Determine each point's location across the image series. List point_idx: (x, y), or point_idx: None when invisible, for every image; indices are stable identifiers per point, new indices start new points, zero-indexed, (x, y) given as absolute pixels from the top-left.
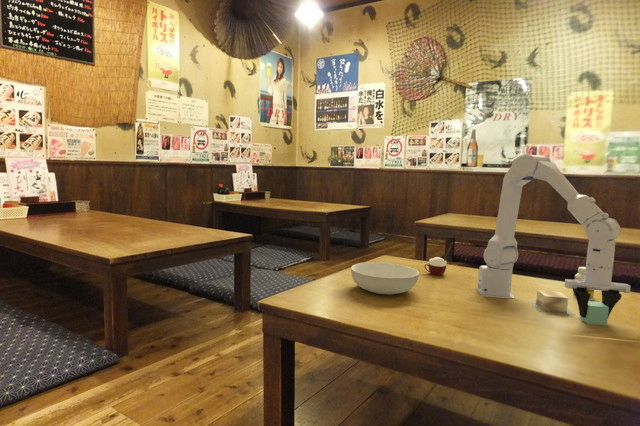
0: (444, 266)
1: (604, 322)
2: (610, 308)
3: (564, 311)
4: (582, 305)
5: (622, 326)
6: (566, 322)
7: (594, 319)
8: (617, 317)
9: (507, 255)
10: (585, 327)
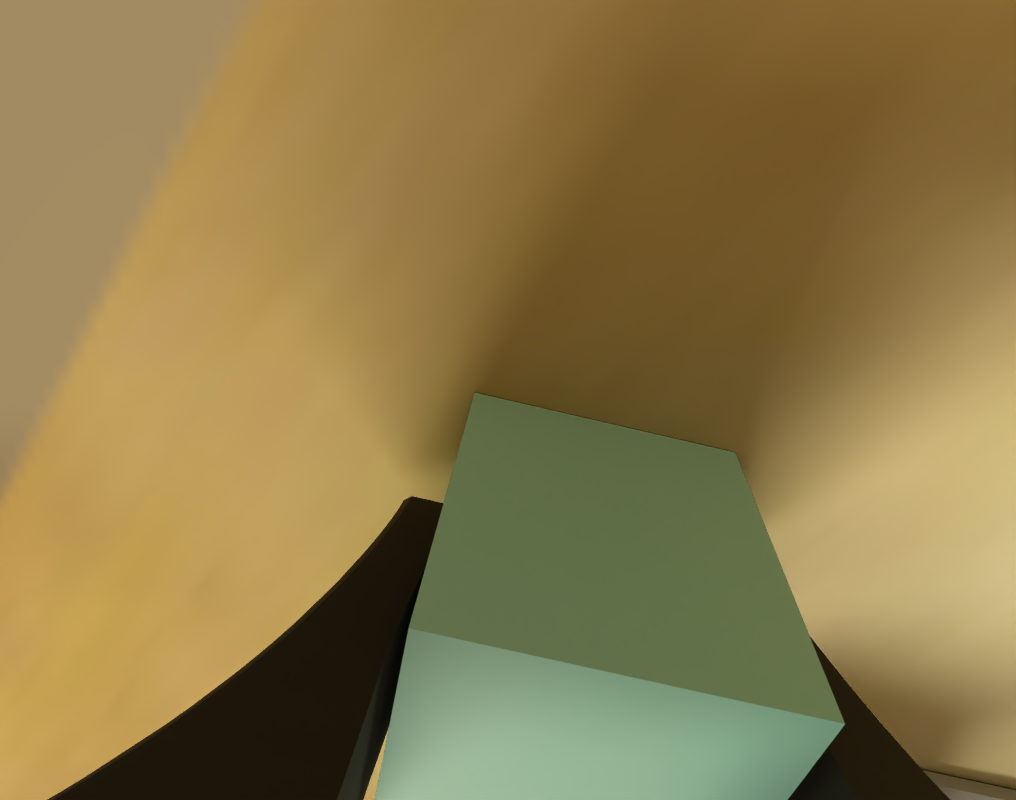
0: None
1: (505, 433)
2: (348, 625)
3: None
4: (915, 767)
5: (223, 403)
6: (987, 532)
7: (661, 487)
8: (124, 651)
9: None
10: (868, 359)
